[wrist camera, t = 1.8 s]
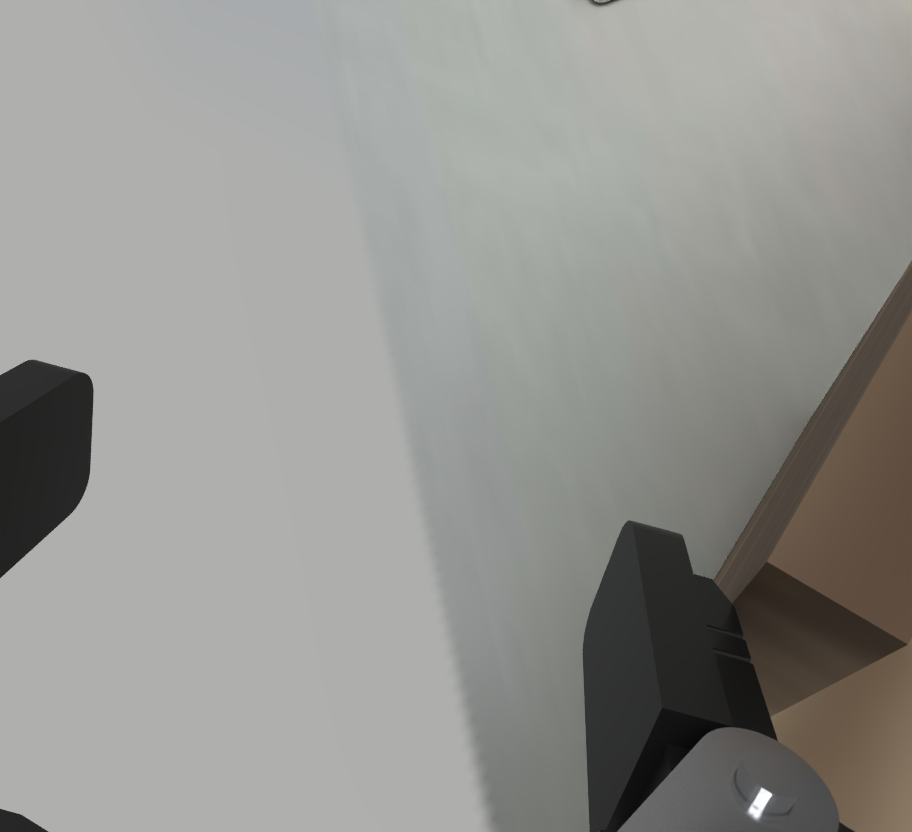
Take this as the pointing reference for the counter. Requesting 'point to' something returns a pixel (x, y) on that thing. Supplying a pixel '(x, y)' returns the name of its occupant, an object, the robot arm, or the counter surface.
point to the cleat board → (841, 582)
